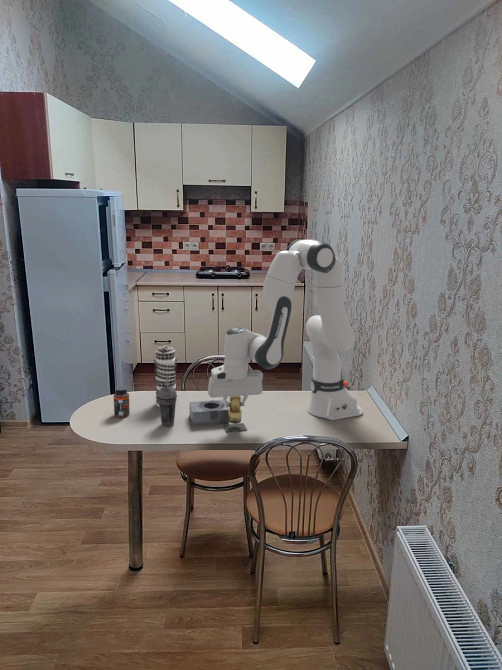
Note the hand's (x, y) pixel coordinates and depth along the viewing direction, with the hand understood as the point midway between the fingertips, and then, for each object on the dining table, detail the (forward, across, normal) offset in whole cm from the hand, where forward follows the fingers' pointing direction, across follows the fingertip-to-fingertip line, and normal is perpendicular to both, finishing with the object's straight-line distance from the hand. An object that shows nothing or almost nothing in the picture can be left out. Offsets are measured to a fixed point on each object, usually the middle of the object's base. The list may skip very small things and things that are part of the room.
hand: (235, 406), depth 195 cm
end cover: (+6, 0, 0) cm, 6 cm away
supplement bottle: (+9, +41, -20) cm, 47 cm away
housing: (+9, +8, -9) cm, 15 cm away
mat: (+9, 0, 0) cm, 9 cm away
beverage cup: (+9, +24, -8) cm, 27 cm away
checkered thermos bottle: (+9, +23, -28) cm, 38 cm away
